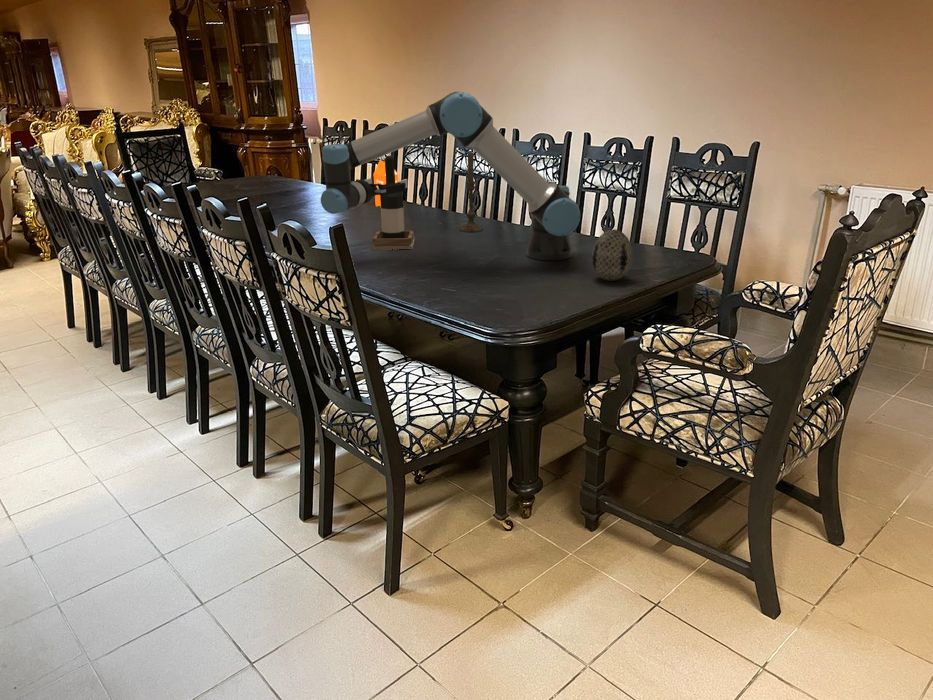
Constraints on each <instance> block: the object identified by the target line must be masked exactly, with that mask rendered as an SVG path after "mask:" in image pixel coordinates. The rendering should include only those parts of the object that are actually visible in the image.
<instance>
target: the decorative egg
mask: <svg viewBox="0 0 933 700" xmlns="http://www.w3.org/2000/svg"><path fill="white" fill-rule="evenodd" d="M633 257H634V256H633V248H632V245H631V242H630V240H629V238H628V237H627V236H626V234H625V233H624V232H622V231H621V230H618V229H609V230H606V231H604V232H603V233H602V234H601V235H599V237H598V238H597V239H596V241H595V243H594V246H593V248H592V252H591V265H592V269H593V271H594V273H595V274H596V276H598V277H599V278H600V279H602V280H604V281H608V282H613V281H618V280H620V279H622V278H624V276H626V275H627V274H628V272H629V271H630V269H631V266H632V263H633Z"/></svg>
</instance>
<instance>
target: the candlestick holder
mask: <svg viewBox="0 0 933 700" xmlns="http://www.w3.org/2000/svg"><path fill="white" fill-rule="evenodd" d="M474 170H475V169H474V152H471V151H469V152H467V181H465V184H466V190H467V191H468V197H467V198H468V207H469V209H468V212H466V217H467V219H468V222H467V223H465V224H463V225H462V226H461V227H460V228H459V231H460V232H462V231H463V233H479V231H480V232H482V231H484V229H483V227H482V226H480V225H479V224H478V223H476V222H475V220H474V219H475V218H476V212H474V198H475V197H474V191H475V190H476V186H475V185H476V183H477V181H475V180H474V174H475V173H474Z"/></svg>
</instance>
